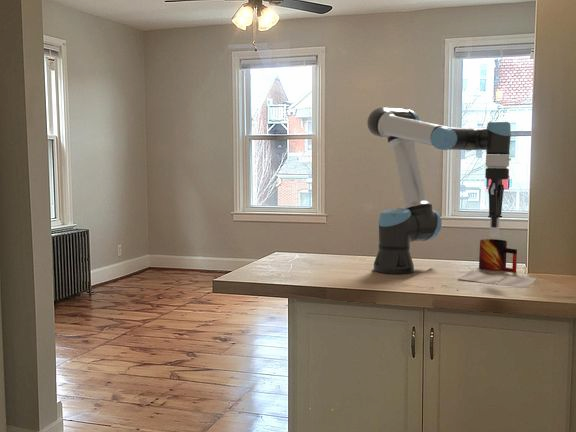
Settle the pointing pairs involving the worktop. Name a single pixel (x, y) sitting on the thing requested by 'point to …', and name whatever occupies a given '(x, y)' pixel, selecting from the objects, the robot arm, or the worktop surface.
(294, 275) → the worktop surface
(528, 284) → the laid plank
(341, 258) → the worktop surface
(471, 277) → the plank
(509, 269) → the mug
